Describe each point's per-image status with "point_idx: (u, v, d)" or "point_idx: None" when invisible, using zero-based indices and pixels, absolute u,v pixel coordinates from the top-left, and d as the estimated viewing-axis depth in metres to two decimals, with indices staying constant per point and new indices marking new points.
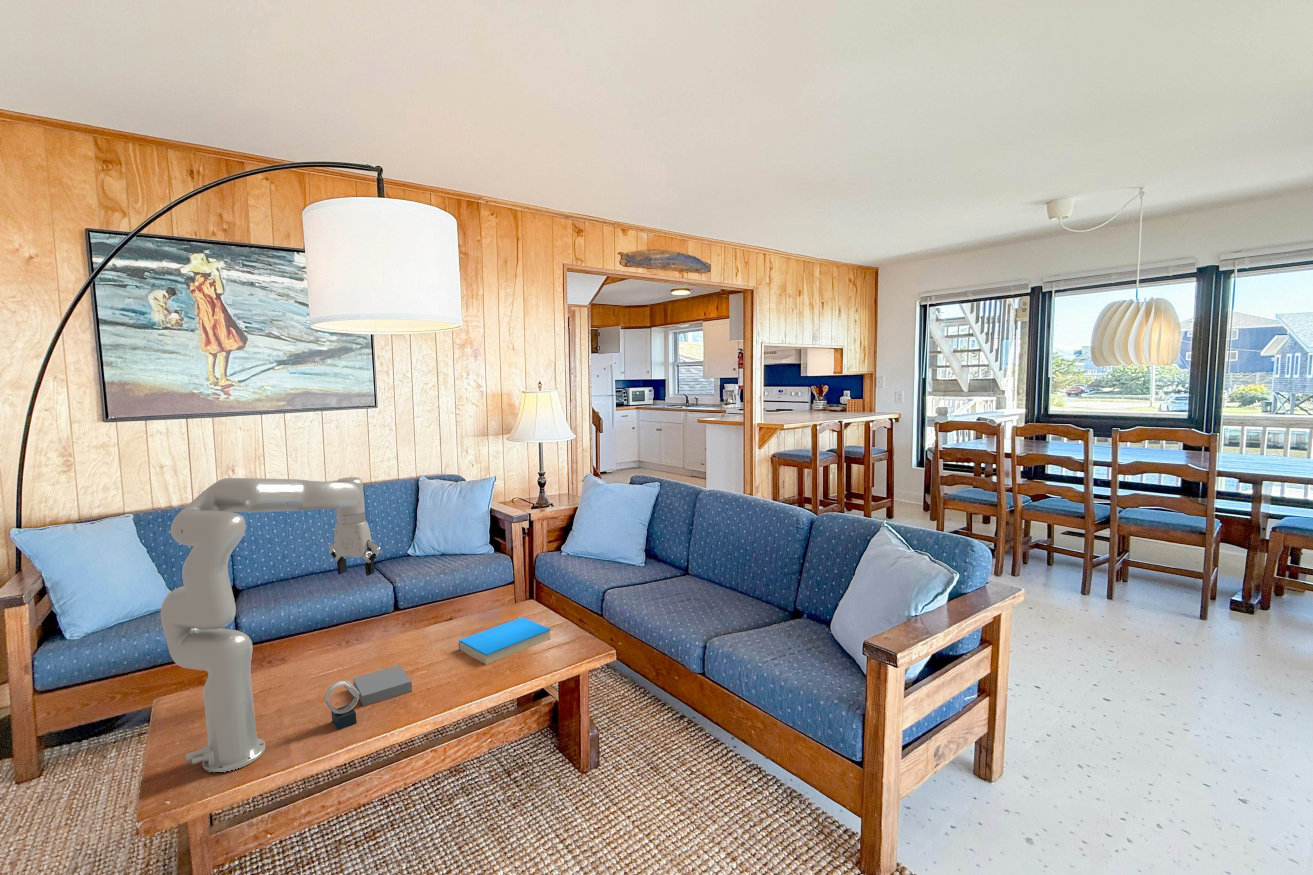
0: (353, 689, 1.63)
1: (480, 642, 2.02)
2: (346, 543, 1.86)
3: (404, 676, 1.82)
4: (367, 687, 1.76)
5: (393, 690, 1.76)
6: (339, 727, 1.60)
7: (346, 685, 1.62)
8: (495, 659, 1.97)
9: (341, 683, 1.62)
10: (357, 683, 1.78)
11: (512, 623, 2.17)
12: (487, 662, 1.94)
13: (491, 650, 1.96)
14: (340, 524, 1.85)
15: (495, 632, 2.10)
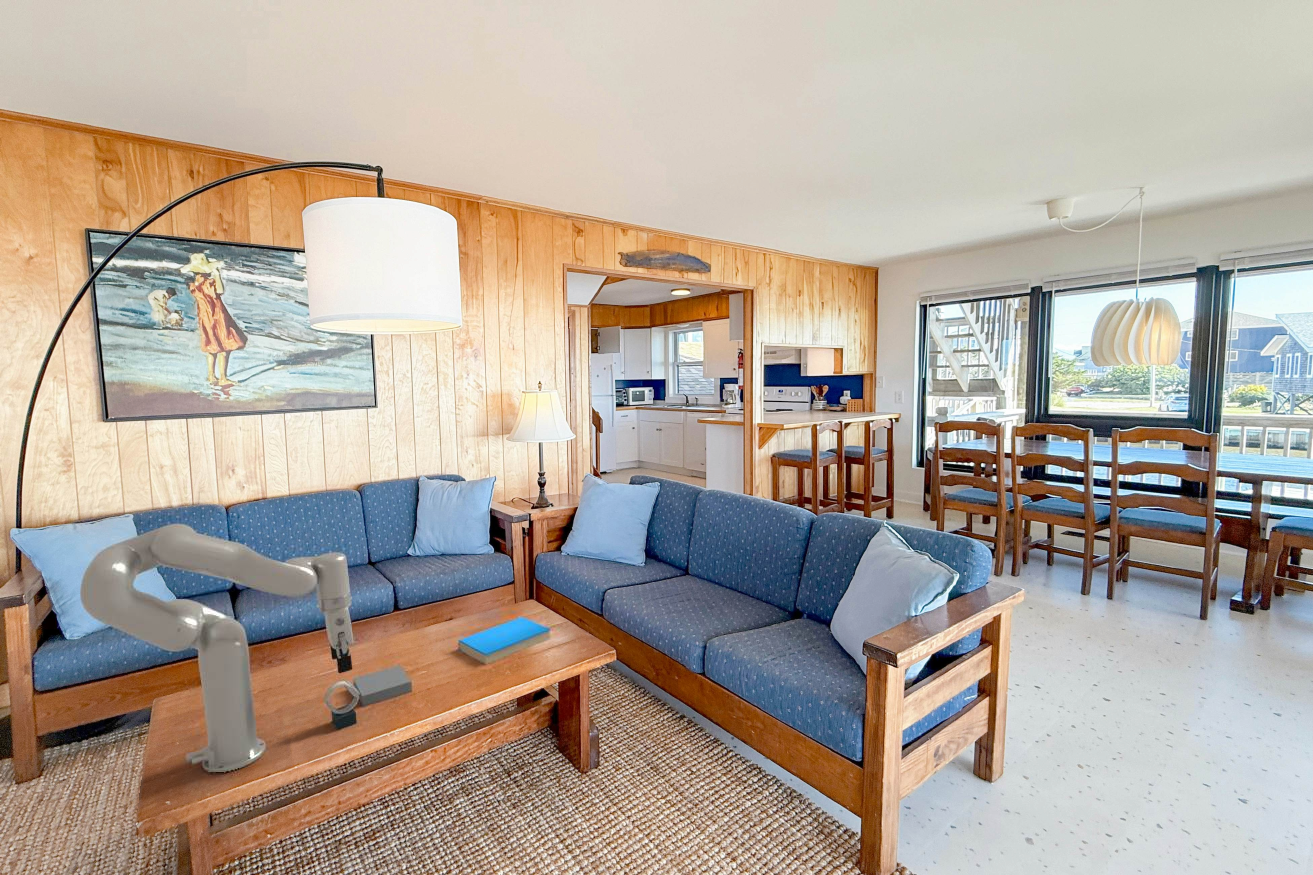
0: (353, 689, 1.63)
1: (480, 642, 2.03)
2: None
3: (404, 676, 1.82)
4: (367, 687, 1.76)
5: (393, 690, 1.76)
6: (339, 727, 1.60)
7: (346, 685, 1.62)
8: (495, 659, 1.97)
9: (341, 683, 1.62)
10: (357, 683, 1.78)
11: (512, 623, 2.17)
12: (487, 662, 1.95)
13: (490, 650, 1.96)
14: None
15: (495, 632, 2.10)
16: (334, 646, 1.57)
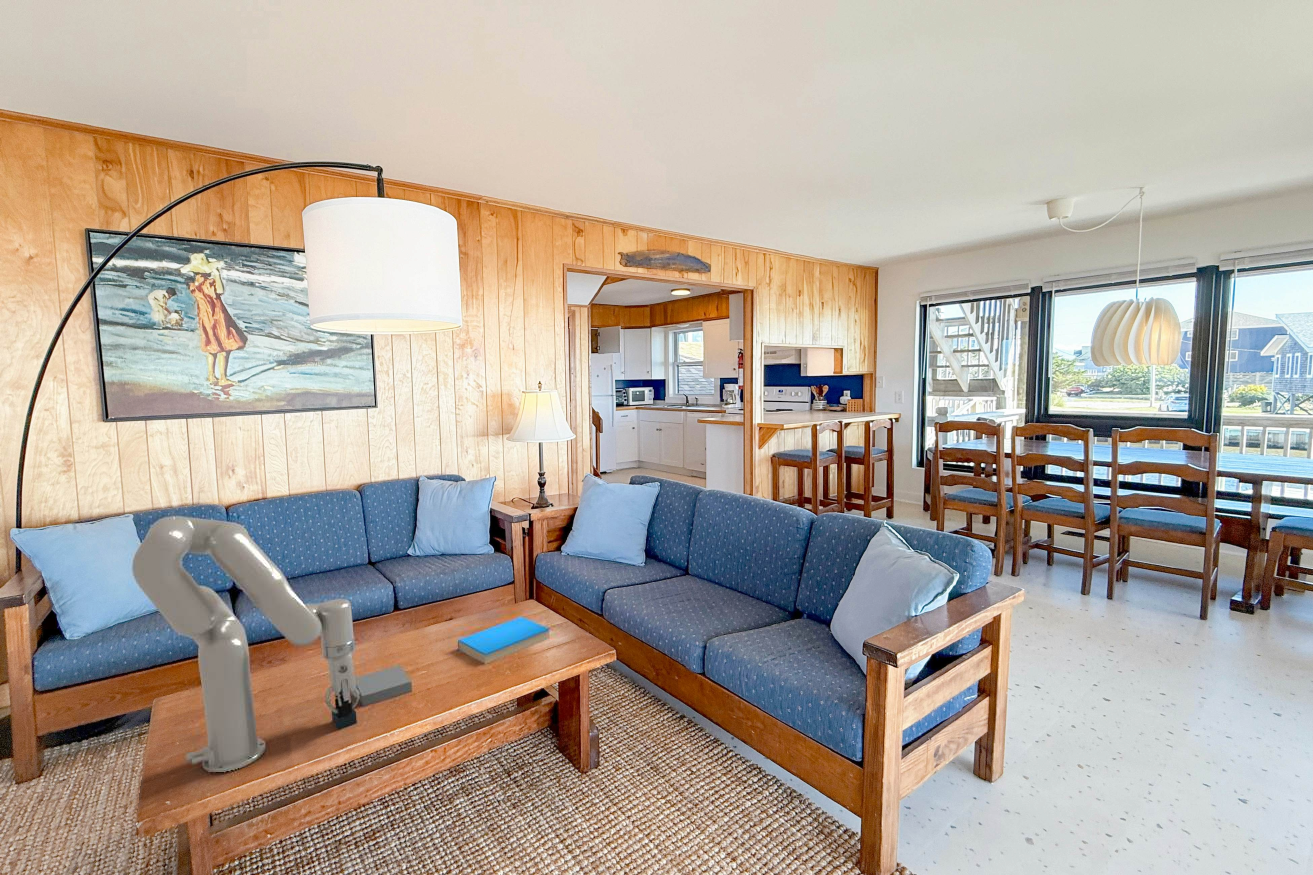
0: None
1: (479, 642, 2.03)
2: None
3: (404, 676, 1.82)
4: (367, 687, 1.76)
5: (393, 690, 1.76)
6: (339, 727, 1.60)
7: None
8: (494, 658, 1.97)
9: None
10: (357, 683, 1.78)
11: (511, 623, 2.18)
12: (486, 661, 1.95)
13: (490, 650, 1.96)
14: (354, 649, 1.63)
15: (494, 632, 2.10)
16: (337, 693, 1.58)
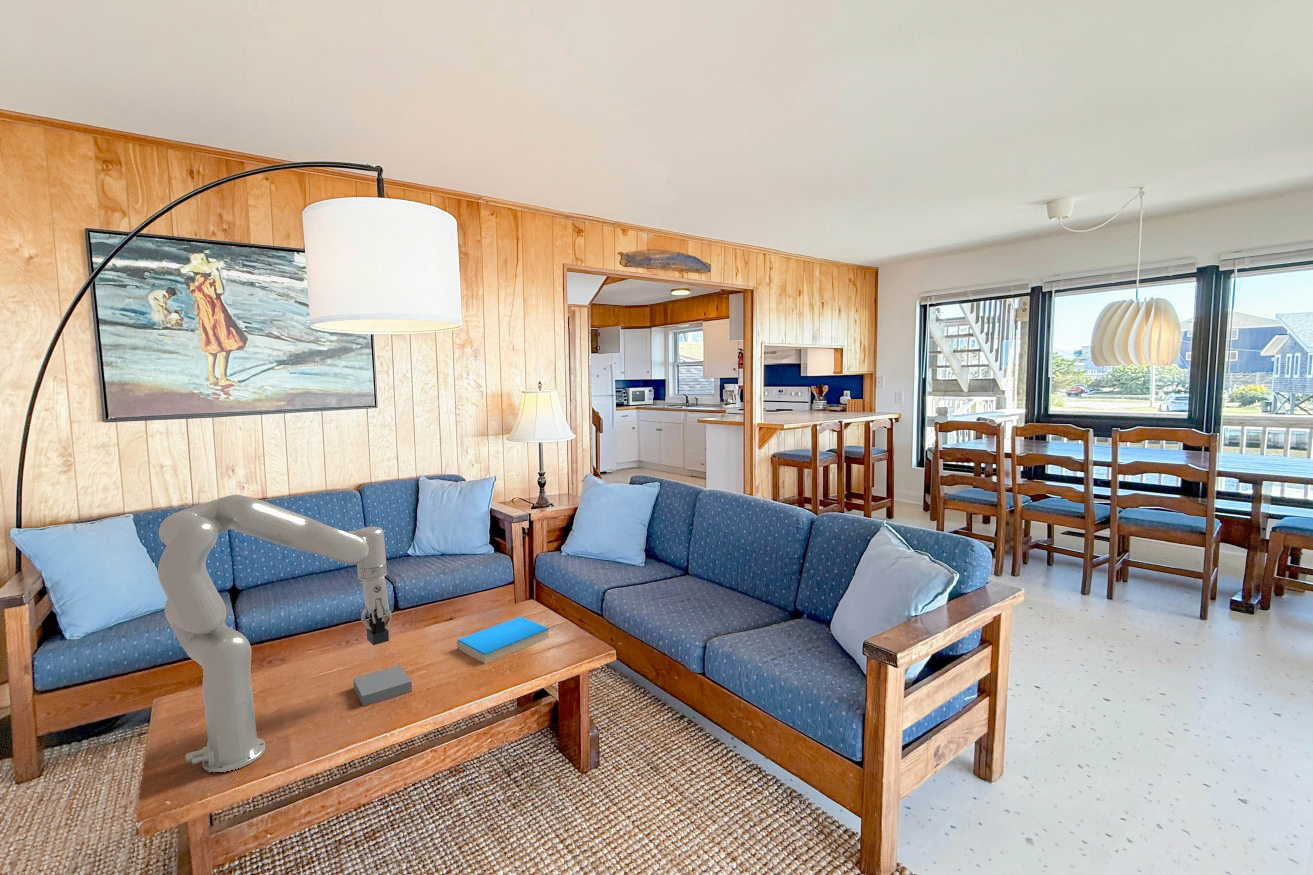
0: None
1: (478, 641, 2.03)
2: None
3: (404, 676, 1.82)
4: (367, 687, 1.76)
5: (393, 690, 1.76)
6: (373, 643, 1.75)
7: None
8: (494, 658, 1.97)
9: None
10: (357, 683, 1.78)
11: (510, 622, 2.18)
12: (486, 661, 1.95)
13: (490, 649, 1.97)
14: (386, 572, 1.78)
15: (493, 631, 2.11)
16: (372, 611, 1.73)
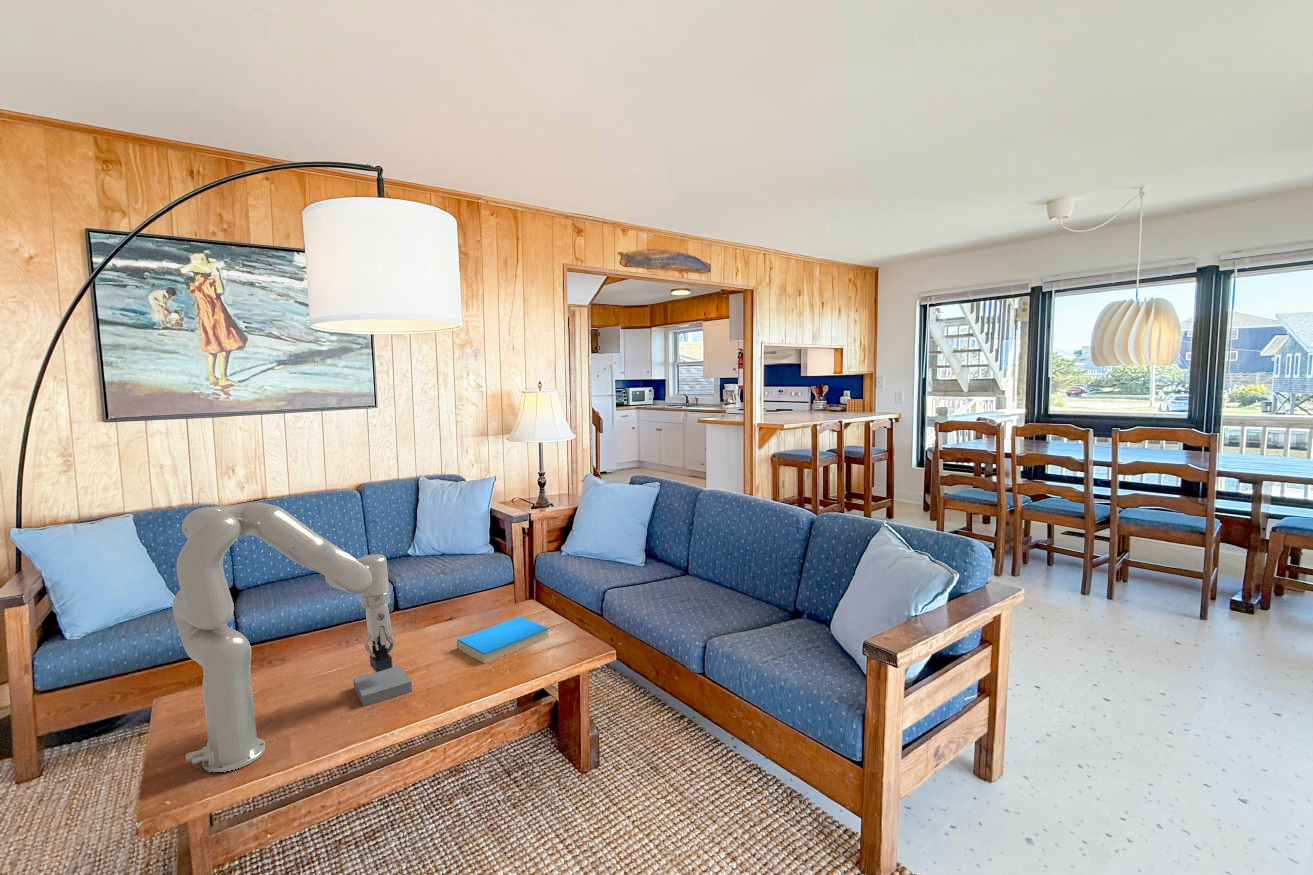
0: None
1: (478, 641, 2.03)
2: None
3: (404, 676, 1.82)
4: (367, 687, 1.76)
5: (393, 690, 1.76)
6: (376, 670, 1.76)
7: None
8: (493, 658, 1.97)
9: None
10: (357, 683, 1.78)
11: (510, 622, 2.18)
12: (485, 661, 1.95)
13: (489, 649, 1.97)
14: (389, 599, 1.79)
15: (493, 631, 2.11)
16: (375, 639, 1.74)
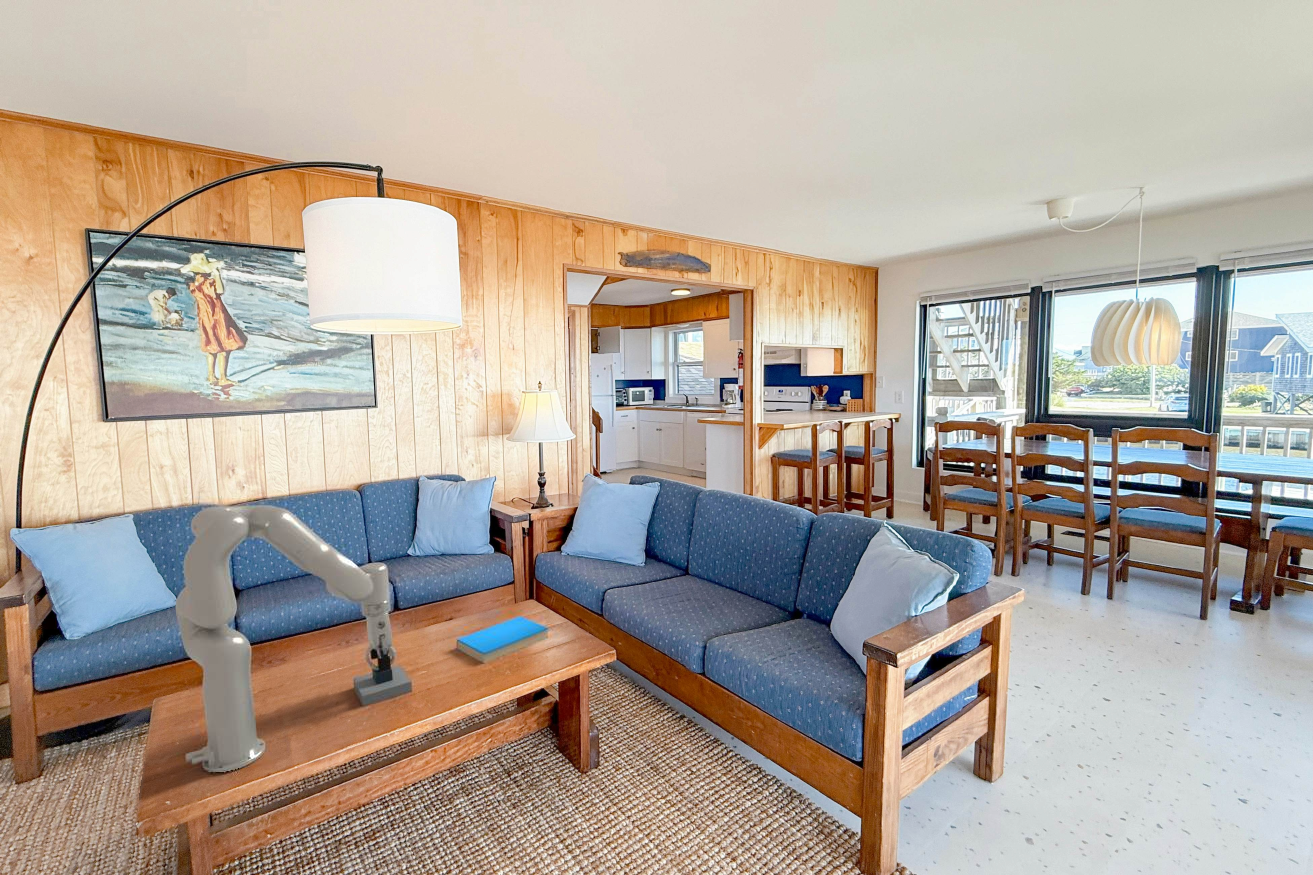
0: (390, 649, 1.79)
1: (478, 641, 2.03)
2: None
3: (404, 676, 1.82)
4: (367, 687, 1.76)
5: (393, 690, 1.76)
6: (377, 682, 1.77)
7: None
8: (493, 658, 1.97)
9: None
10: (357, 683, 1.78)
11: (509, 622, 2.18)
12: (485, 661, 1.95)
13: (489, 649, 1.97)
14: (390, 608, 1.79)
15: (493, 631, 2.11)
16: (375, 647, 1.74)
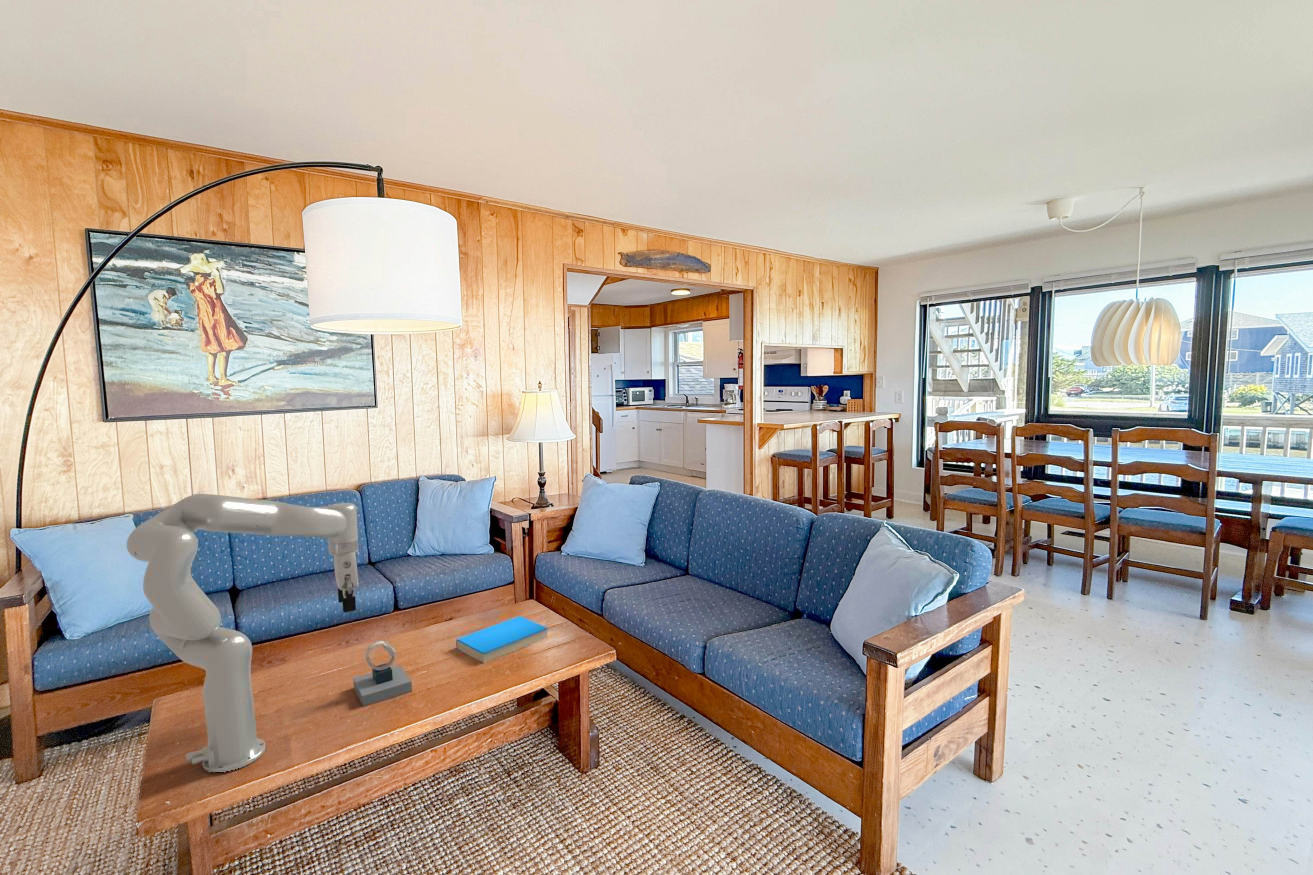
0: (390, 649, 1.79)
1: (477, 641, 2.04)
2: None
3: (404, 676, 1.82)
4: (367, 687, 1.76)
5: (393, 690, 1.76)
6: (377, 682, 1.77)
7: (384, 645, 1.79)
8: (493, 657, 1.98)
9: (380, 643, 1.79)
10: (357, 683, 1.78)
11: (509, 622, 2.18)
12: (485, 660, 1.96)
13: (489, 649, 1.97)
14: (358, 549, 1.77)
15: (492, 631, 2.11)
16: (340, 587, 1.72)
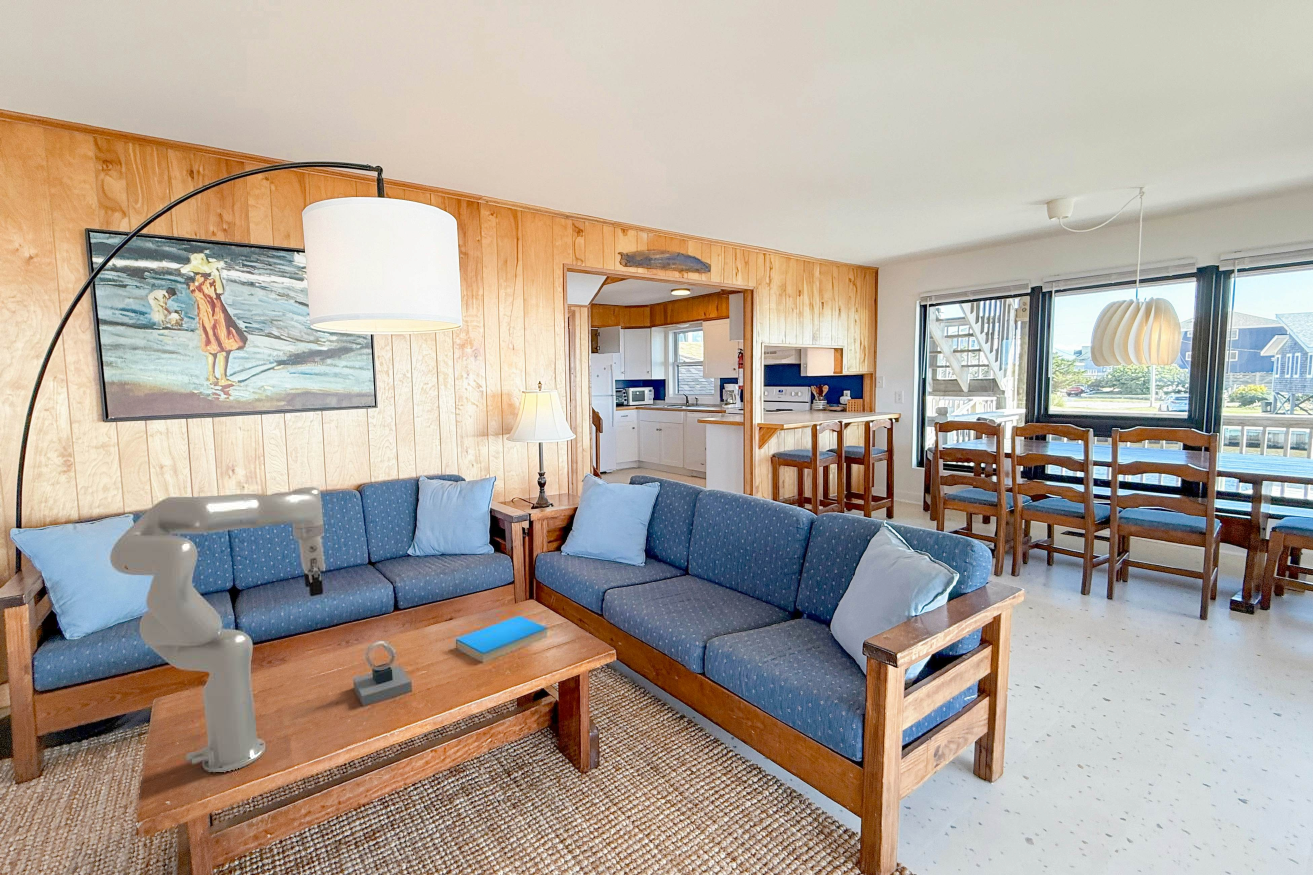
0: (390, 649, 1.79)
1: (477, 640, 2.04)
2: None
3: (404, 676, 1.82)
4: (367, 687, 1.76)
5: (393, 690, 1.76)
6: (377, 682, 1.77)
7: (384, 645, 1.79)
8: (492, 657, 1.98)
9: (380, 643, 1.79)
10: (357, 683, 1.78)
11: (509, 622, 2.18)
12: (484, 660, 1.96)
13: (488, 649, 1.97)
14: (323, 533, 1.77)
15: (492, 631, 2.11)
16: (307, 571, 1.72)
